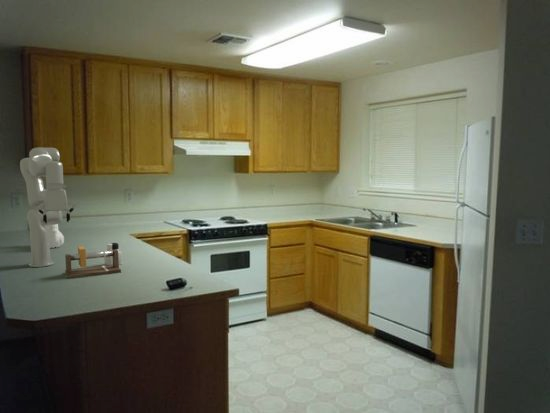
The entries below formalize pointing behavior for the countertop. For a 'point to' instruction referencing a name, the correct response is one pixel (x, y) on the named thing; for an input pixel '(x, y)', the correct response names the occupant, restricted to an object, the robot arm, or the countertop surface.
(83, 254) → the collar
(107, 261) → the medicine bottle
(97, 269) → the pipe stand
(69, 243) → the countertop surface
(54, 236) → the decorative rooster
